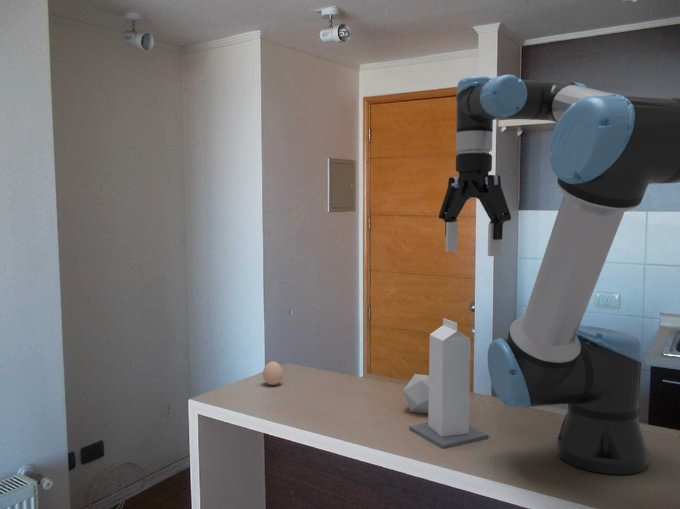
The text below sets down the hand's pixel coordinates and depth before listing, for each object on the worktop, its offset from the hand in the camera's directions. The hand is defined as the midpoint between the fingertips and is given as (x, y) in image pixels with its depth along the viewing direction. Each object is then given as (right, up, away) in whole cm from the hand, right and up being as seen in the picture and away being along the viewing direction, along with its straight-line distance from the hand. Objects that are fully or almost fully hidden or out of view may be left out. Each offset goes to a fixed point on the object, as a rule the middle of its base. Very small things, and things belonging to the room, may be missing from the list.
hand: (471, 253), depth 131 cm
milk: (-7, -35, -10) cm, 37 cm away
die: (-10, -35, +3) cm, 36 cm away
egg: (-45, -33, +23) cm, 60 cm away
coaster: (-7, -36, -10) cm, 38 cm away
